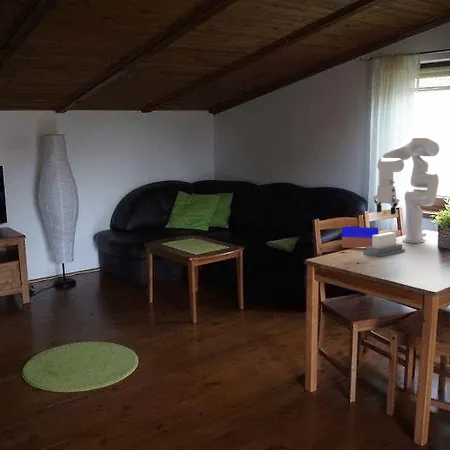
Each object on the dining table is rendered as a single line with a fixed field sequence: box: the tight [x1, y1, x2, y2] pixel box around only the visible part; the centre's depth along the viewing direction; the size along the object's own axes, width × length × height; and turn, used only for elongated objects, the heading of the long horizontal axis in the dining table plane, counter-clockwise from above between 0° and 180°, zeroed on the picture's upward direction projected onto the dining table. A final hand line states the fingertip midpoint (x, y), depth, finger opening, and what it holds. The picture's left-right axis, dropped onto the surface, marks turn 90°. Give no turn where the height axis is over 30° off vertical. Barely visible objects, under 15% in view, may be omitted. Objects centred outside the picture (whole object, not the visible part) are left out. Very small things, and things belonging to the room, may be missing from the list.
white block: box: [372, 231, 397, 249], centre depth 304 cm, size 15×4×9 cm, turn 123°
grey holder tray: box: [363, 242, 406, 258], centre depth 304 cm, size 20×12×4 cm, turn 124°
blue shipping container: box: [341, 226, 380, 249], centre depth 322 cm, size 12×20×12 cm, turn 69°
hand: (386, 213), depth 303 cm, fingers open, 9 cm apart
